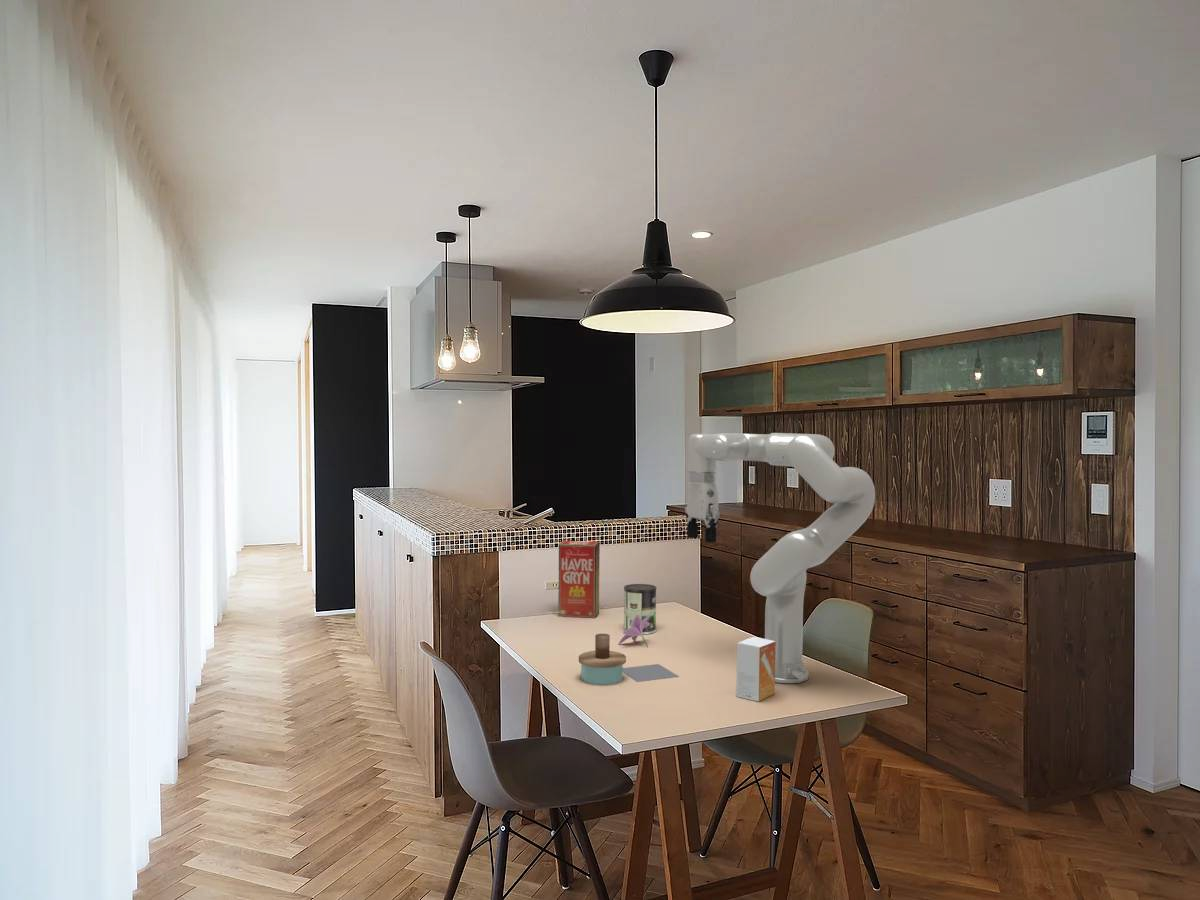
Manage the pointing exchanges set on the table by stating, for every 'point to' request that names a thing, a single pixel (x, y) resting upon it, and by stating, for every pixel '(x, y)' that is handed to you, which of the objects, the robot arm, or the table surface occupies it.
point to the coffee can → (640, 605)
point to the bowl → (601, 675)
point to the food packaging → (578, 579)
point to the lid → (602, 654)
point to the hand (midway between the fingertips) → (701, 539)
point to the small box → (755, 668)
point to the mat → (648, 673)
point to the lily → (635, 629)
